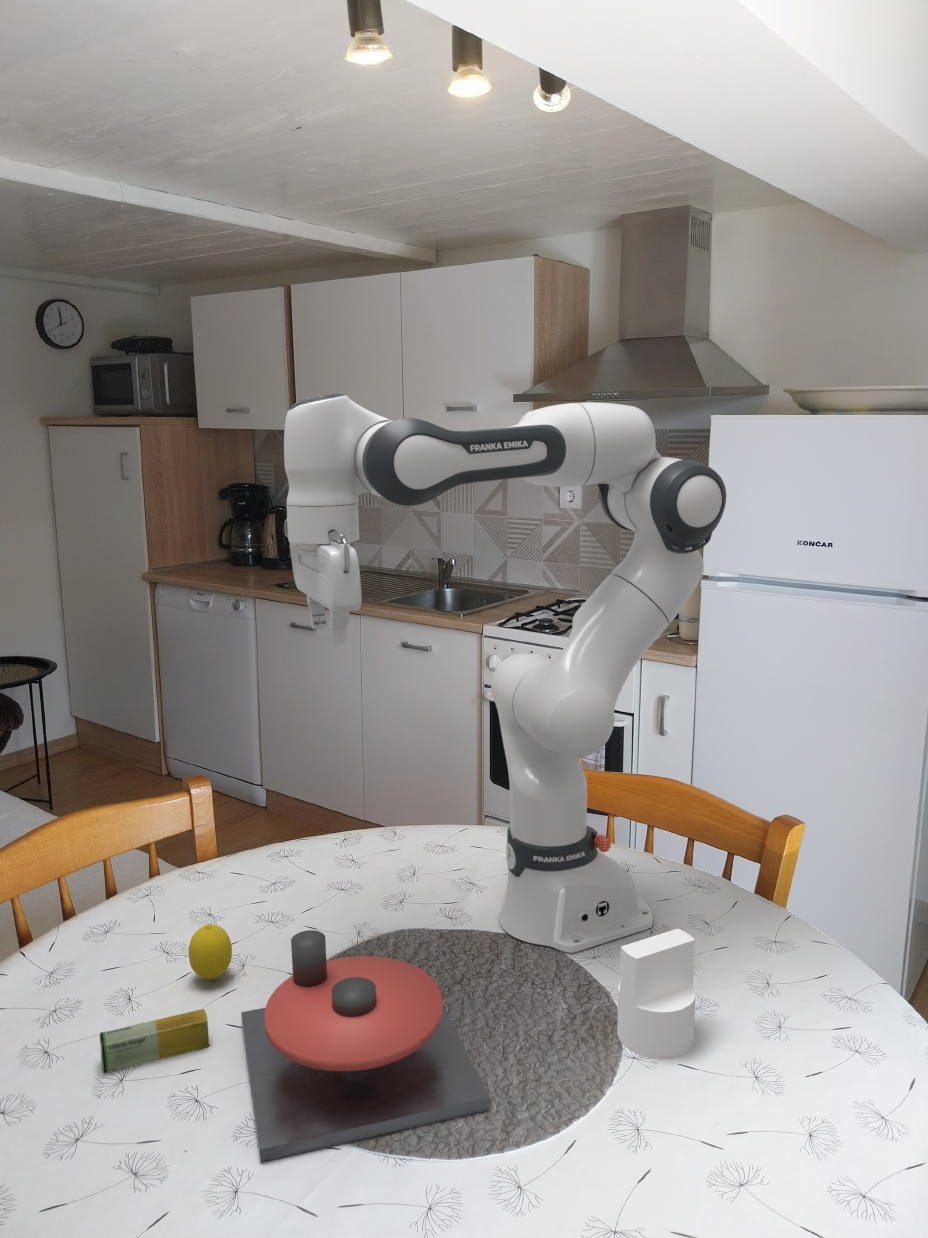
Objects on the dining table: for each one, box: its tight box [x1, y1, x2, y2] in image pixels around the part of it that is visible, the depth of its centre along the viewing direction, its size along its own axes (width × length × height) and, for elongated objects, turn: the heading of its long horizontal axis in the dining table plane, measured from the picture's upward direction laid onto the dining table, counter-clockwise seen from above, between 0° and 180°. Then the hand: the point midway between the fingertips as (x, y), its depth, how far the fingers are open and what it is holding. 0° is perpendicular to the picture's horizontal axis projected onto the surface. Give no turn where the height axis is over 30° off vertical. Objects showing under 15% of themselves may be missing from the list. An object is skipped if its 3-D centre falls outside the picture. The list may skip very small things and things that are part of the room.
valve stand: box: [240, 1004, 490, 1163], centre depth 109 cm, size 24×24×6 cm
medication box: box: [99, 1008, 211, 1074], centre depth 112 cm, size 12×3×4 cm, turn 113°
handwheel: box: [264, 929, 444, 1071], centre depth 108 cm, size 20×20×6 cm
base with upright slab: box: [616, 928, 696, 1060], centre depth 113 cm, size 9×9×12 cm
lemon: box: [188, 923, 233, 981], centre depth 126 cm, size 6×6×8 cm
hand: (328, 635), depth 122 cm, fingers open, 8 cm apart
